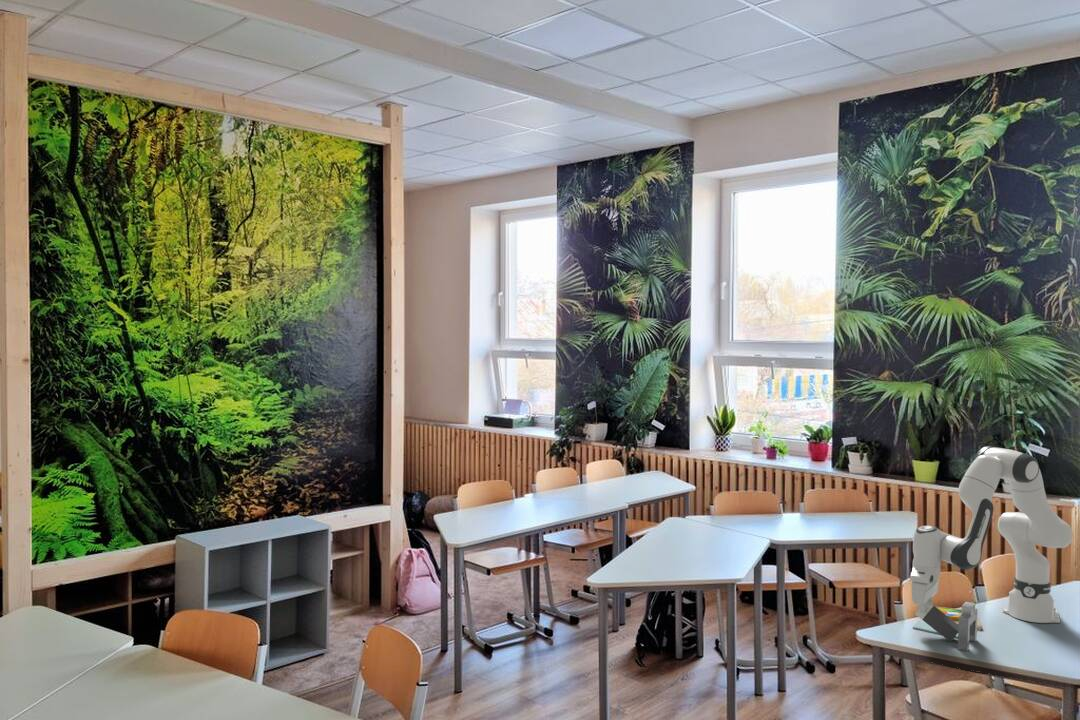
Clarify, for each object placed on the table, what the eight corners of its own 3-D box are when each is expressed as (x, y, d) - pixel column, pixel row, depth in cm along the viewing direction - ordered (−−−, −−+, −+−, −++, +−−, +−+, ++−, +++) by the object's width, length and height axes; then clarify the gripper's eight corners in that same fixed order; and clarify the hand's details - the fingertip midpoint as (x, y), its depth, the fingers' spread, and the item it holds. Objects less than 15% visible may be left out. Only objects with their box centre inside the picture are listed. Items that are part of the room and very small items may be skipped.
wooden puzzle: (976, 616, 324) (976, 607, 324) (982, 632, 306) (982, 623, 306) (926, 610, 330) (926, 601, 330) (929, 625, 313) (929, 616, 312)
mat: (919, 622, 315) (919, 620, 315) (972, 633, 304) (972, 631, 304) (912, 628, 308) (912, 626, 308) (967, 640, 297) (967, 638, 296)
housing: (967, 638, 299) (968, 598, 298) (976, 640, 297) (977, 600, 296) (957, 649, 288) (958, 608, 287) (967, 651, 286) (968, 610, 286)
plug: (918, 609, 305) (926, 599, 303) (953, 637, 298) (962, 627, 296) (914, 613, 301) (922, 603, 299) (950, 642, 294) (958, 631, 292)
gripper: (924, 563, 311) (924, 601, 311) (908, 577, 295) (907, 616, 296) (943, 567, 307) (942, 604, 307) (927, 580, 291) (927, 620, 292)
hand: (925, 610), depth 301 cm, fingers closed on plug, 5 cm apart
